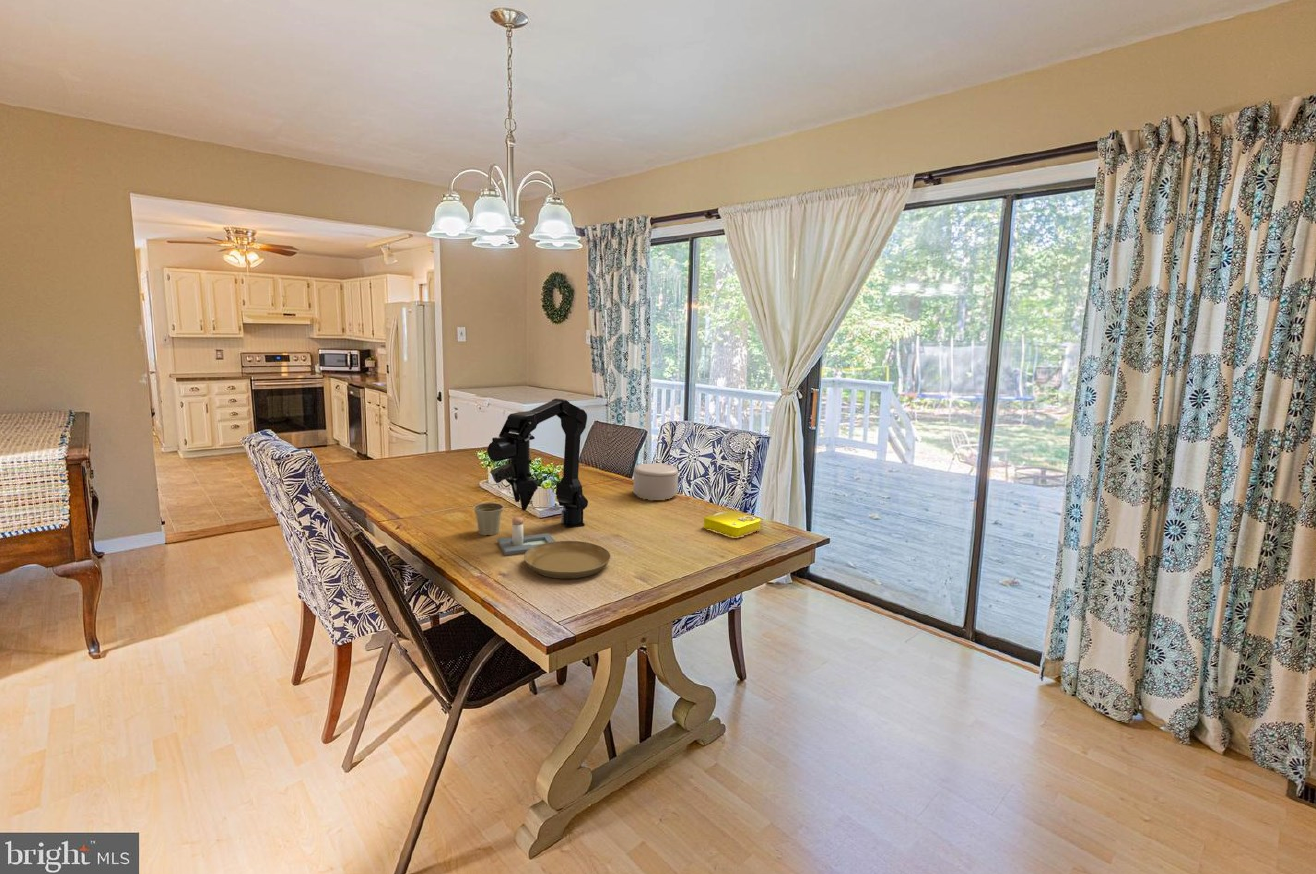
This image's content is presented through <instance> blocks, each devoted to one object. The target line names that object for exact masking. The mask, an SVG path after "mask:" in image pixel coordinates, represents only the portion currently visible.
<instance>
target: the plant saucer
mask: <svg viewBox="0 0 1316 874" xmlns="http://www.w3.org/2000/svg"><path fill="white" fill-rule="evenodd" d="M611 557H612V556H611V553H610V551H609V550H608V549H607V548H605V547H603V546H602V545H598V544H596V543H592V542H588V541H587V542H586V541H580V540H557V541H556V540H555V542H549V543H544V544H540V545H537V546H535V547H533V548H531V549H529V550H528V551H527V552H526V553H524V554H523V558H524V561H525V563H526V565H527V566H528V568H530V569H531V570H532V571H534V572H535V573H537V574H539V575H541V576H543V577H547V578H552V579H558V580H559V579H562V580H569V579H573V580H574V579H580V578H586V577H589V576H592V575H594V574H597V573H599V572H601V571H602V570H603V569H605V568H606V566H607V565H608V563H609V562H610V560H611Z"/></svg>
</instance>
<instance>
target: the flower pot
mask: <svg viewBox="0 0 1316 874" xmlns="http://www.w3.org/2000/svg"><path fill="white" fill-rule="evenodd" d="M504 508H505V507H504V504H501V503H497V502H483V503H479V504H476V505H474V506H473V508H472V509H473V511H474V514H475V516H476V520H477V521H476V522H477V529H478V533H479V535H482V536H487V535H488V536H494V535H498V534H499V532H500V527H501V526H500V525H501V517H502V513H503V509H504Z"/></svg>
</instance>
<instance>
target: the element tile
mask: <svg viewBox="0 0 1316 874" xmlns="http://www.w3.org/2000/svg"><path fill="white" fill-rule="evenodd" d="M761 521H762V520H761V519H760V518H759V517H756V516H752V515H748V514H746V513H741V512H738V511H735V510H731V509H728V510H723V511H719V512H716V513H712V514H709V515H705V516H704V517H703V524H702V525H703V526H702V528H703V527H704V528H705V529H711V530H715V531H717V532H721V533H723V534H727V535H729V536H734V537H737V536H741V535H744V534H746V533H749V532H751V531H754V530H757V529H760V530H761V523H762V522H761ZM704 528H703V529H704ZM705 529H704V530H705Z"/></svg>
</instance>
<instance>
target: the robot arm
mask: <svg viewBox="0 0 1316 874" xmlns="http://www.w3.org/2000/svg"><path fill="white" fill-rule="evenodd" d="M587 413H588V412H586V411H585V410H584V409H581V408H580V407H578V406H576V405H574V404H572V403H570V401H569V400H566V399H563V398H553V399H551V401H549V402H547V403H544V404H542V405H541V404H540V405H539V406H537V407H535V408H533V409H531V410H529V411H528V410H527V411H518V412H513V413H510V414H508V416H507V417H506V421H505V422H504V424H503V426H502V427H501V428H502V429H501V430H500V432H499V435H498V437H492V438H491V439H492V440H491V442H490V443H489V444H488V447H487V449H486V451H487V455H488V458H489V459H490V460H491V461H492V462H494V463H497V462H501V461H505V460H507V463H505V464H502V465H500V466H498V467H495V468H493V469H491V470H490V474H491V476H492V479H493V481H494V482H495V484H498V483H499V484H500V483H501V482H503V481H506V482H507V483H508V484H509V485H510V486H511V491H512V494H513V498H514V501H515V503H519V502H520V507H521V510H522V511H526V510H527V509H528V506H529V505H530V503H531V500H532V498H533V497H534V494H535V492H537V490H538V487H539V486H538V481H536V480H535V479H534V478H533V477H532V472H531V467H530V466H531V464H532V459H531V458H530V456H531V453H530V452H531V451H530V446H531V445H530V441H531V440H533V441H534V440H535V436H534V435H533V434H531V433H532V432H533V431H535V430H536V428H537V426H538V425H539V424H541V423H543V422H544V421H547V420H549V419H551V418H553V417H555V416H556V417H557V418H559V419H560V426H561V429H562V431H563V433H564V434H565V436H564V437H565V438H564V450H563V451H564V452H563V453H564V455H563V456H564V457H563V472H562V478H561V479H560V481H559V482H556V485H555V487H556V490H555V493H554V495H556V499H557V502H558V505H559V506H560V507H562V510H561V514H560V515H561V517H560V518H561V520H560V521H561V523H562V524H563V525H564V526H565V528H573V527H574V528H575V527H582V526H583V527H584V526H585V522H584V510H585V509H586V508H587V507H588V504H589V500H588V499H587V497H585V495H584V494H583V485H582V483H581V481H580V479H579V468H580V465H579V464H580V451H581V449H580V448H581V435H582V434H583V432H584V431H585V429H586V426H587V421H588V414H587Z"/></svg>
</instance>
